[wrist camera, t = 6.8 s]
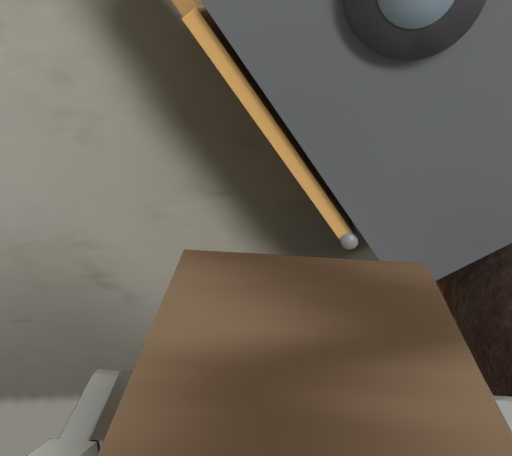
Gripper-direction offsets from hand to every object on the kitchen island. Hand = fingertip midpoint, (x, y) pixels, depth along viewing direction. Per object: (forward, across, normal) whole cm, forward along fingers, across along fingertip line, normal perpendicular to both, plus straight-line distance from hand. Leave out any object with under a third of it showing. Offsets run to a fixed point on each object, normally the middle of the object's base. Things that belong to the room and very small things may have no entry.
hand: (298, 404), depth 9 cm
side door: (+17, +2, -3) cm, 18 cm away
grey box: (+18, -5, -4) cm, 19 cm away
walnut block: (+2, 0, 0) cm, 2 cm away
